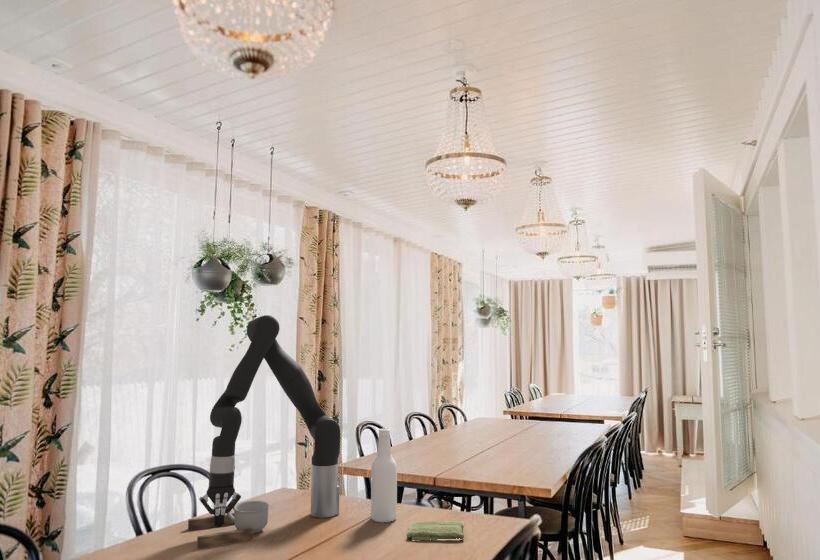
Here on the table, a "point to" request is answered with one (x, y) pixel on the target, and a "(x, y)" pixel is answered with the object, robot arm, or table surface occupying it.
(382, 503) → the alcohol
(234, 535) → the pair of wooden slats
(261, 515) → the teacup
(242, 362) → the robot arm
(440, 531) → the washcloth
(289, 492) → the table surface
